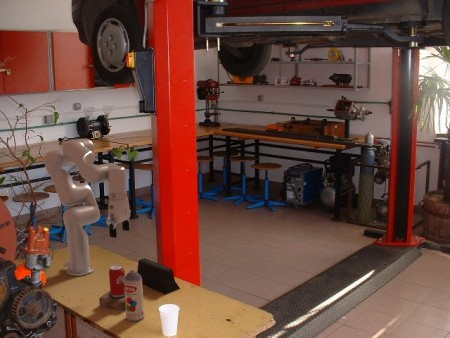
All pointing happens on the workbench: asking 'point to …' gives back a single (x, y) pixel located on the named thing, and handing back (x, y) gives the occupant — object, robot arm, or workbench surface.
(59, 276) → the workbench surface
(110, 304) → the walnut plinth
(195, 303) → the workbench surface
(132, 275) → the aerosol can
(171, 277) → the barrier
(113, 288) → the beverage can
